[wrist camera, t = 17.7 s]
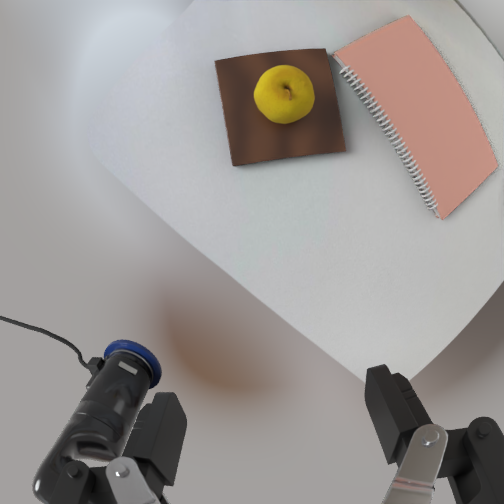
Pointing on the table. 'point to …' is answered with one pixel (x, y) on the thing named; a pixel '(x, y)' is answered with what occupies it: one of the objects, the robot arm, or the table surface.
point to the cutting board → (264, 130)
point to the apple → (284, 94)
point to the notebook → (421, 111)
